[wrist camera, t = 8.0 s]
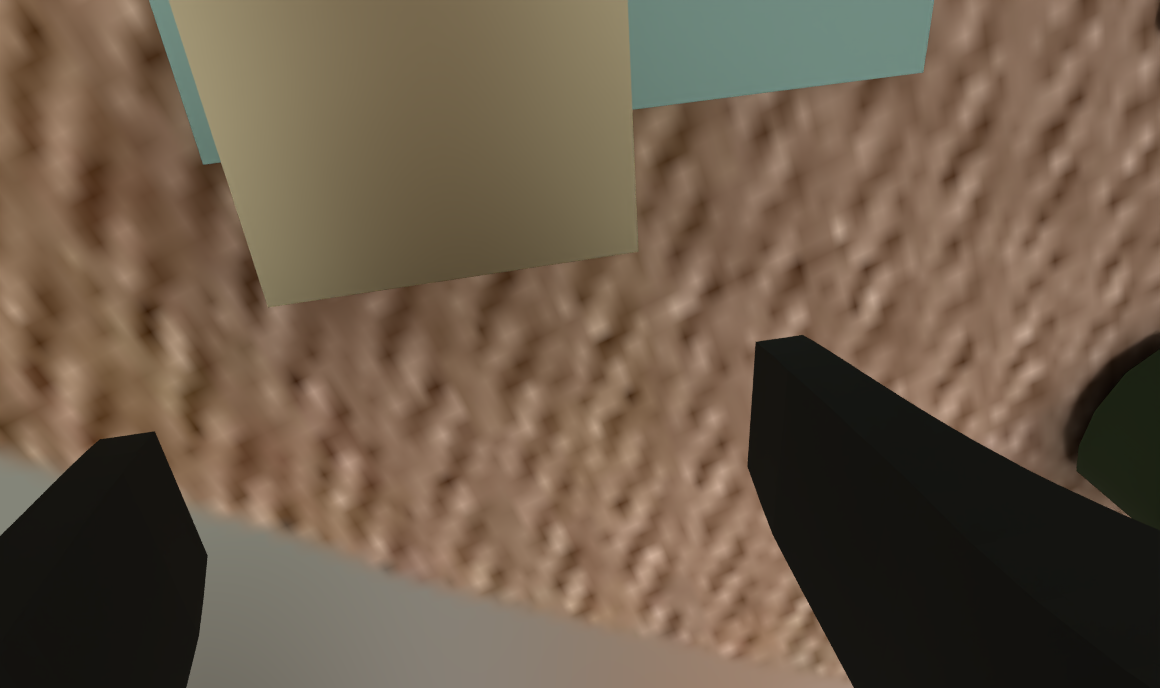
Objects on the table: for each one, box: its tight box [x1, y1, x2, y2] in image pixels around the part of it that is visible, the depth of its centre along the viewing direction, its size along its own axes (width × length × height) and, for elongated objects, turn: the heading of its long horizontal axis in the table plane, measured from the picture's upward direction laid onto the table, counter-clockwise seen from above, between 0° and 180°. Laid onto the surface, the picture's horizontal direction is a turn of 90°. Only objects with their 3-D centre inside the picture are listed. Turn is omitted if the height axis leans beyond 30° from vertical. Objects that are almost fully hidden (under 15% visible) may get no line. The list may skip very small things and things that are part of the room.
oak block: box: [169, 0, 638, 307], centre depth 11 cm, size 4×4×4 cm
